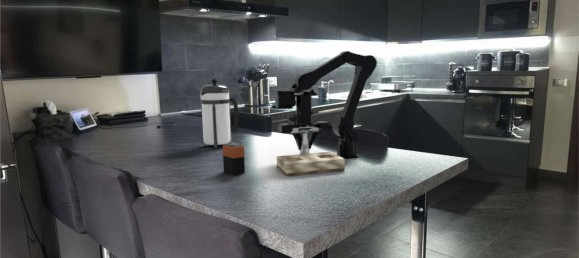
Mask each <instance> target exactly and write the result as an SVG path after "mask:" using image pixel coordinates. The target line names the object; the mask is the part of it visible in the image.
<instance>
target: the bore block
mask: <svg viewBox="0 0 579 258" xmlns="http://www.w3.org/2000/svg"><path fill="white" fill-rule="evenodd" d="M345 159H346V158H342V157H340V156H338V155H337V153H334V152H333V151H324V152H323V151H322V152H314V153H313V152H312V153H310V152H309V154H300V153H299V154H287V155H277V156H276V168H277V169H278V170H279V171H280V172H281V173H282V174H283V175H285V176H286V177H295V176H305V175H313V174H323V173H332V172H333V173H334V172H344V171H345V169H346V168H345V167H346V166H345V162H346V161H345Z"/></svg>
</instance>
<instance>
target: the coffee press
mask: <svg viewBox="0 0 579 258" xmlns="http://www.w3.org/2000/svg"><path fill="white" fill-rule="evenodd" d="M217 82H218V80H217V79H216V78H212V80H211V83H212V84H206V85H203V86H201V88H200V90H199V93H200V95H199V96H200V108H201V109H200V110H201V112H200V113H201V128H202V129H201V130H202V132H201V133H202V142H201V143H200V147H204V145H209V146H213V149H214V150H218V146H220V145H222V146H223V145H227V144H228V143H229V142H232V144H233V143H235V142H234V141H233V139H232V133H235V132H236V131H237V130H238V127H239V121H240V120H239V107H238V102H237V100H236V99H235V98H233V97H230V92H231V91H230V89H229V87H228V86H227V85H226V84H217ZM231 103H232V106H233V115H234V116H233V118H234V120H233V121H234V124H233V127H232V126H231V123H232V120H231V119H232V118H231ZM202 143H204V145H202Z"/></svg>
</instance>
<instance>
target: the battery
mask: <svg viewBox="0 0 579 258" xmlns="http://www.w3.org/2000/svg"><path fill="white" fill-rule="evenodd" d="M222 163H223V172H225V173H227V174H231V175H234V176H238V175H241V174H245V172H246V168H245V167H246V166H245V147H244V146H243V145H241V144H240V143H239V142H234V143H233V142H232V141H230V142H229V143H227V144H222Z"/></svg>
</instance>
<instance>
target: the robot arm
mask: <svg viewBox="0 0 579 258" xmlns="http://www.w3.org/2000/svg"><path fill="white" fill-rule="evenodd" d="M345 64H348V65H351V66H353V67H354V79H353V82H352V84H351V87H350V90H349V92H348V96H347V97H346V101H345V104H344V107H343V108H342V112H341V113H340V115H337V114H336V115H334V121H333V123H332V124H330V122H328V121H325V120H320V121H319V120H318V121H315V122H313V117H312V116H313V115H314V111H313V103H312V102H313V101H312V97H315V96H317V95H318V93H317V92H316V91H315V90H314V89H313V88H312V87H314V86H315V85H316V84H317V83H318V82H319V80H321V78H324V77H325V76H326V75H328V74H330V73H332V72H333V71H335V70H337V69H339V68H340V67H342V66H343V65H345ZM377 65H378V61H377V59H376V57H375V56H373V55H371V54H370V55H369V54H368V55H365V54H364V55H363V54H358V53H355V52H351V51H349V50H346V51H341V52H340V53H339V54H337V55H336V56H334V57H332V58H331V59H329V60H327V61H325V62H324V63H322V64H320V65H318V66H317V67H316V68H313V69H310V70H306V71H304V72H301V73H299V74H297V75H296V76H295V77H294V80H293V82H294V83H293V84H292V85H291V87H290V88H289V90H276V94H275V98H274V99H275V100H274V101H275V103H274V104H275V108H276V110H291V109H293V108H294V107H295V109H296V110H295V111H294V113H287V115H286V116H287V122H286V123H279V124H278V126H277V130H278V132H280V133H281V134H290V135H292V136H293V138H294V140H295V144H296V146H297V148H298V151H300V150H301V133H300V131H303V130H307V131H309V151H311V149H312V146H313V145H314V141H315V140H316V138H317V136H318V135H319V134H321V131H331V125H332V132H333V133H334V135H336V136H337V139H338V144H337V146H336V147H337V149H336V150H337V151H336V152H337V153H336V155H338V156H340V157H342V158H344V159H350V158H359V155H358V153H357V151H358V148H357V147H358V142H359V140H360V139H359V138H360V137H359V135H358V134H357V133H356V132H355V131H354V126H355V114H356V111H357V110H358V109H357V108H358V106H359V103H360V100H361V97H362V94H363V91H364V88H365V86H366V84H367V81H368V79H369V78H370V77H371V75H373V73H374V71H375V69H376V67H377ZM291 123H292V124H291ZM320 130H321V131H320Z"/></svg>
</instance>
